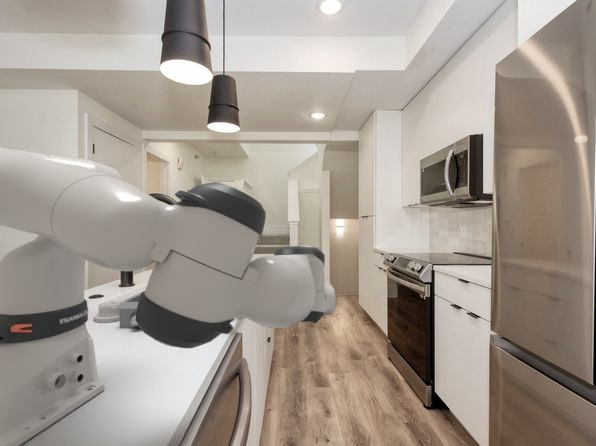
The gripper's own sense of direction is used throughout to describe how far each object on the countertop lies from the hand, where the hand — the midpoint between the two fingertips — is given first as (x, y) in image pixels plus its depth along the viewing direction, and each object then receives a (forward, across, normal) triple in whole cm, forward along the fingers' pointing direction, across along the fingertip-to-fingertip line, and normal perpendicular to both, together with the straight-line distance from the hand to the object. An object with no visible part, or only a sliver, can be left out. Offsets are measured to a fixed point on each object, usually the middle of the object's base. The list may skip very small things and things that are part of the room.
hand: (222, 301), depth 86 cm
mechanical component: (+34, +8, -7) cm, 35 cm away
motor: (+21, +2, -6) cm, 22 cm away
